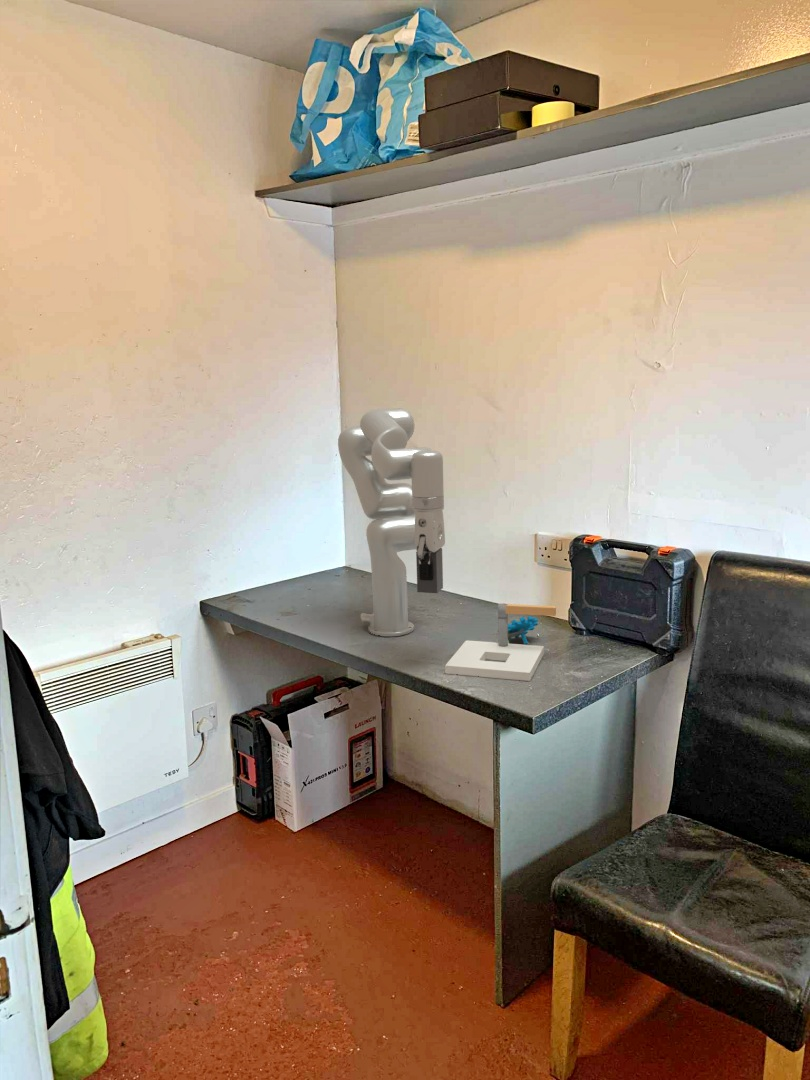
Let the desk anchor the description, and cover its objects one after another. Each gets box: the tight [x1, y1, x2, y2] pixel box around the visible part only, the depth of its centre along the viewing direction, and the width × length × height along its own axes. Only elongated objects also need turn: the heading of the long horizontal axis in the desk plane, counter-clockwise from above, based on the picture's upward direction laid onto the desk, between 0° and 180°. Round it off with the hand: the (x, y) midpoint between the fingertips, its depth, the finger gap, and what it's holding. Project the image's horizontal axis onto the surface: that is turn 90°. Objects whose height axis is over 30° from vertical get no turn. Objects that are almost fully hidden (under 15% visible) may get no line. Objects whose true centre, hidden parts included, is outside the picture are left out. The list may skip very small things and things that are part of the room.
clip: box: [497, 602, 557, 618], centre depth 202 cm, size 2×14×3 cm, turn 74°
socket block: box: [444, 616, 545, 682], centre depth 198 cm, size 20×19×9 cm
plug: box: [415, 547, 444, 594], centre depth 199 cm, size 5×5×10 cm
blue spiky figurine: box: [508, 615, 539, 645], centre depth 213 cm, size 11×6×10 cm
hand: (429, 576), depth 199 cm, fingers closed on plug, 5 cm apart
